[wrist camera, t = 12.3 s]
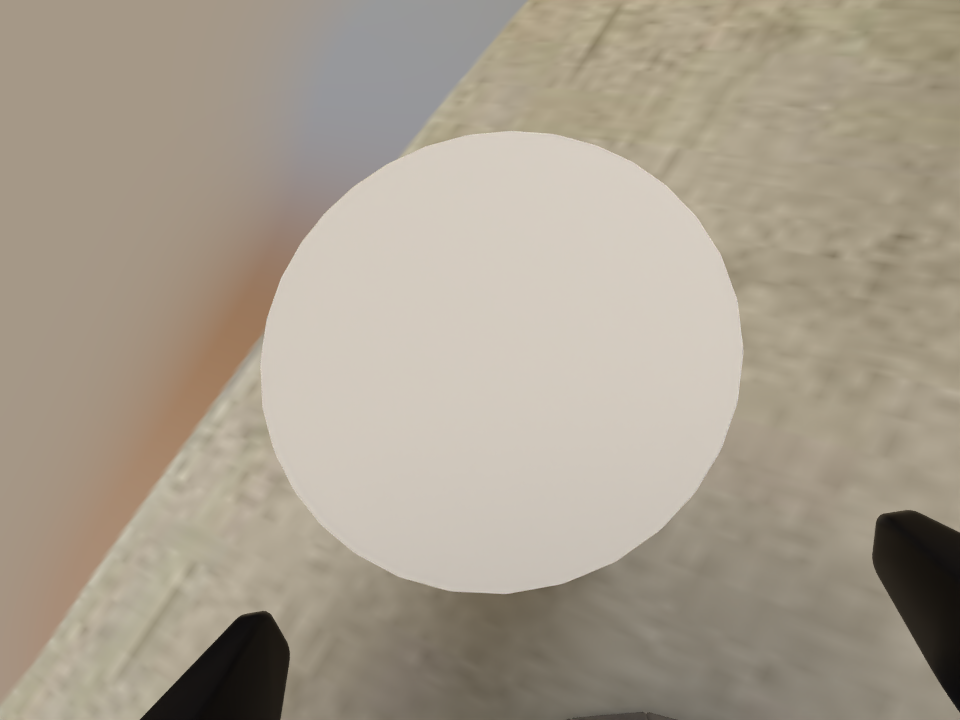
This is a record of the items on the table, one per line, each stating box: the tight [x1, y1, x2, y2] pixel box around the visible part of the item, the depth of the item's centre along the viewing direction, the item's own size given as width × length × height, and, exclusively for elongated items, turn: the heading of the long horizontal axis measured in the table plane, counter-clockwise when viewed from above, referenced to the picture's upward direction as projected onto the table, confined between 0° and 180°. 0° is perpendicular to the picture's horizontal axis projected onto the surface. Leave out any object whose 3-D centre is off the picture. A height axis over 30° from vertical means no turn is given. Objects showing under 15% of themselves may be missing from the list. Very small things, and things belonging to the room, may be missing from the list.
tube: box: [260, 131, 743, 594], centre depth 12 cm, size 4×4×15 cm
